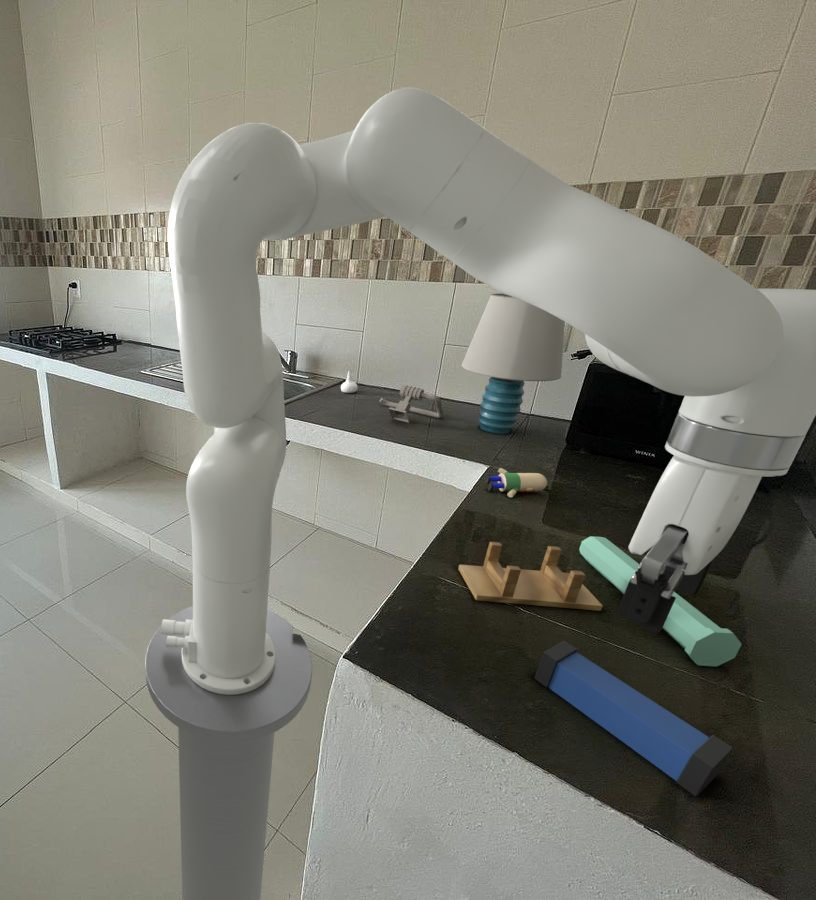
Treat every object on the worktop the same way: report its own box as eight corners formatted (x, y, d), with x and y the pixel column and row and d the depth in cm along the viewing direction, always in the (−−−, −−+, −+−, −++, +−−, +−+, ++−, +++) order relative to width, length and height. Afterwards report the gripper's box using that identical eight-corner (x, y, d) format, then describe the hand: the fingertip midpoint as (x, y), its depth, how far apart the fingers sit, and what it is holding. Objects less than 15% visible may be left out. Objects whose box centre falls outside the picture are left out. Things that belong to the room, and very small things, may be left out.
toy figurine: (491, 503, 108) (548, 503, 106) (498, 491, 104) (557, 491, 103) (480, 475, 113) (534, 474, 112) (486, 462, 110) (542, 462, 108)
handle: (534, 678, 61) (543, 651, 59) (554, 666, 62) (564, 640, 61) (696, 797, 47) (714, 767, 46) (715, 777, 49) (733, 747, 48)
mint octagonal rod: (586, 524, 84) (714, 624, 61) (615, 537, 84) (752, 641, 61) (564, 550, 86) (679, 657, 63) (592, 563, 86) (716, 673, 63)
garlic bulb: (358, 394, 182) (360, 373, 179) (341, 393, 183) (343, 373, 180) (355, 390, 188) (358, 369, 185) (339, 389, 189) (341, 369, 186)
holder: (475, 600, 74) (484, 568, 72) (457, 569, 82) (465, 539, 79) (601, 611, 72) (614, 578, 70) (571, 578, 80) (582, 547, 77)
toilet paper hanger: (447, 413, 157) (441, 388, 147) (432, 441, 154) (425, 417, 144) (383, 398, 171) (374, 375, 162) (368, 424, 169) (358, 401, 159)
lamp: (435, 427, 148) (461, 294, 133) (468, 411, 164) (495, 291, 149) (527, 451, 131) (569, 302, 116) (554, 430, 147) (594, 297, 132)
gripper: (704, 414, 48) (645, 558, 54) (633, 448, 39) (573, 614, 46) (818, 437, 42) (736, 595, 49) (764, 483, 33) (674, 668, 40)
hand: (657, 604), depth 47 cm, fingers open, 9 cm apart
